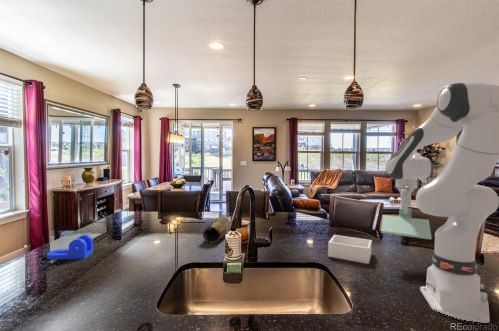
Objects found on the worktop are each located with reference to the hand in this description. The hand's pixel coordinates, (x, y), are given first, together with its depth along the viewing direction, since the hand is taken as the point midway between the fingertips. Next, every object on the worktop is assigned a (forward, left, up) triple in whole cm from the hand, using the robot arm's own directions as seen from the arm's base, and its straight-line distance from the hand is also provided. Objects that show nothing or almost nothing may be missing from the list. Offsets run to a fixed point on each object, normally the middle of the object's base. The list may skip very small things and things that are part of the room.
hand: (405, 213), depth 129 cm
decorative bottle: (-9, +98, -22) cm, 101 cm away
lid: (-6, 0, -5) cm, 8 cm away
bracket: (-78, +138, -22) cm, 161 cm away
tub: (-10, +23, -22) cm, 33 cm away
